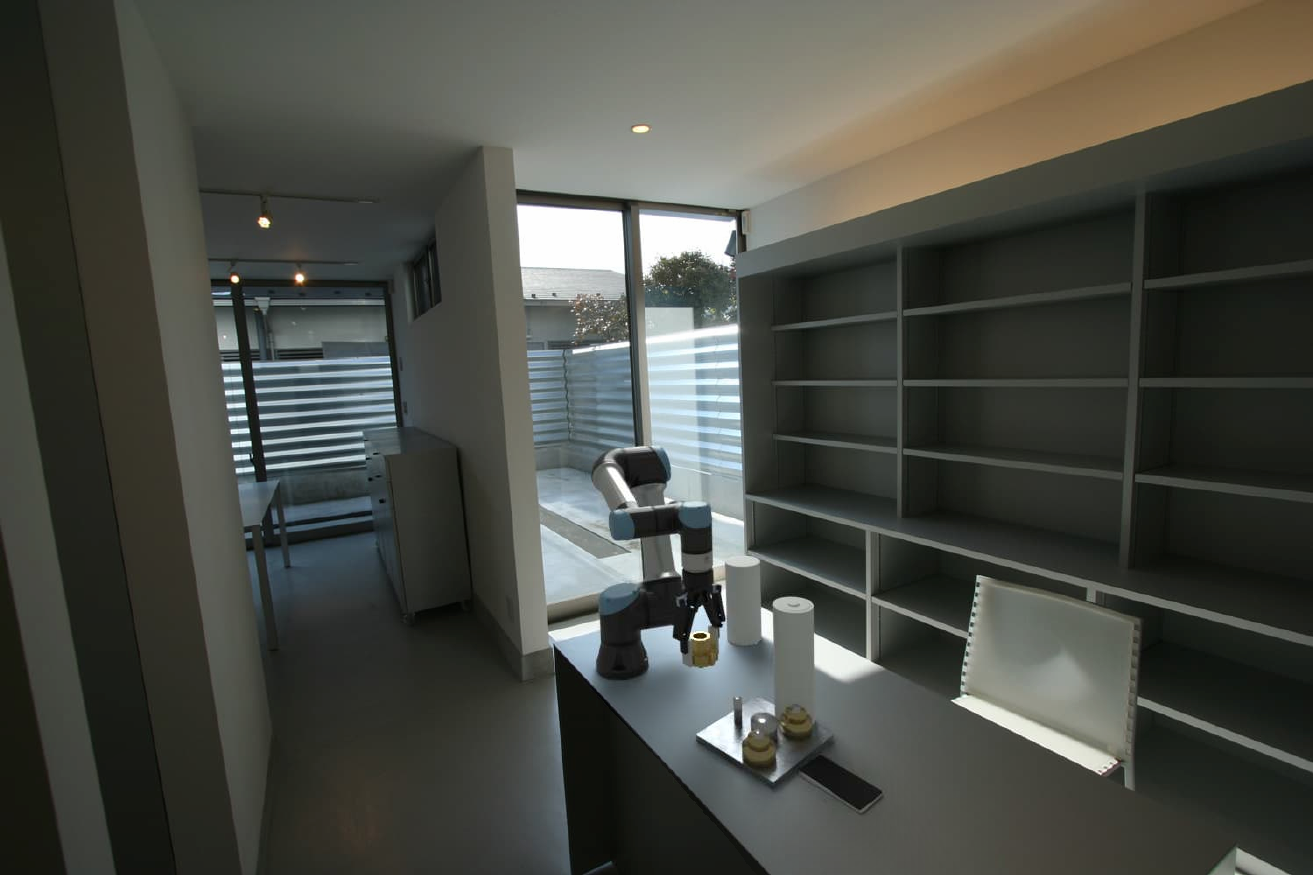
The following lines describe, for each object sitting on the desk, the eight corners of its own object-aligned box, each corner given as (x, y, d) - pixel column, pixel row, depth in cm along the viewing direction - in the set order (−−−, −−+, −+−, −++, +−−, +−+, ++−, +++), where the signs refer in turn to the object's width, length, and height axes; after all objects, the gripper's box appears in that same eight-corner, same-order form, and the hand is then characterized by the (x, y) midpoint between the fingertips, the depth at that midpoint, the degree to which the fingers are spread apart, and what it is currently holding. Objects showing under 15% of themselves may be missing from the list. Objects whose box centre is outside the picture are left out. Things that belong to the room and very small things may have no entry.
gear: (677, 659, 144) (676, 636, 143) (701, 648, 149) (700, 625, 148) (701, 671, 137) (700, 647, 137) (725, 659, 143) (724, 635, 142)
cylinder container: (816, 735, 137) (814, 611, 134) (774, 731, 139) (772, 609, 136) (813, 711, 147) (812, 595, 143) (774, 708, 148) (772, 593, 145)
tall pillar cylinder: (753, 648, 179) (751, 568, 176) (721, 641, 185) (718, 563, 181) (766, 634, 188) (765, 558, 184) (736, 627, 193) (734, 553, 190)
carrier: (696, 740, 137) (695, 712, 136) (757, 701, 151) (756, 675, 150) (773, 788, 120) (772, 756, 119) (833, 740, 135) (833, 711, 134)
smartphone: (860, 811, 113) (797, 770, 124) (860, 817, 113) (797, 775, 124) (884, 791, 118) (820, 753, 129) (883, 796, 118) (820, 758, 129)
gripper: (675, 583, 131) (679, 680, 134) (739, 560, 144) (741, 648, 147) (653, 575, 137) (657, 668, 139) (716, 553, 150) (719, 639, 153)
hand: (701, 658), depth 143 cm, fingers closed on gear, 8 cm apart
